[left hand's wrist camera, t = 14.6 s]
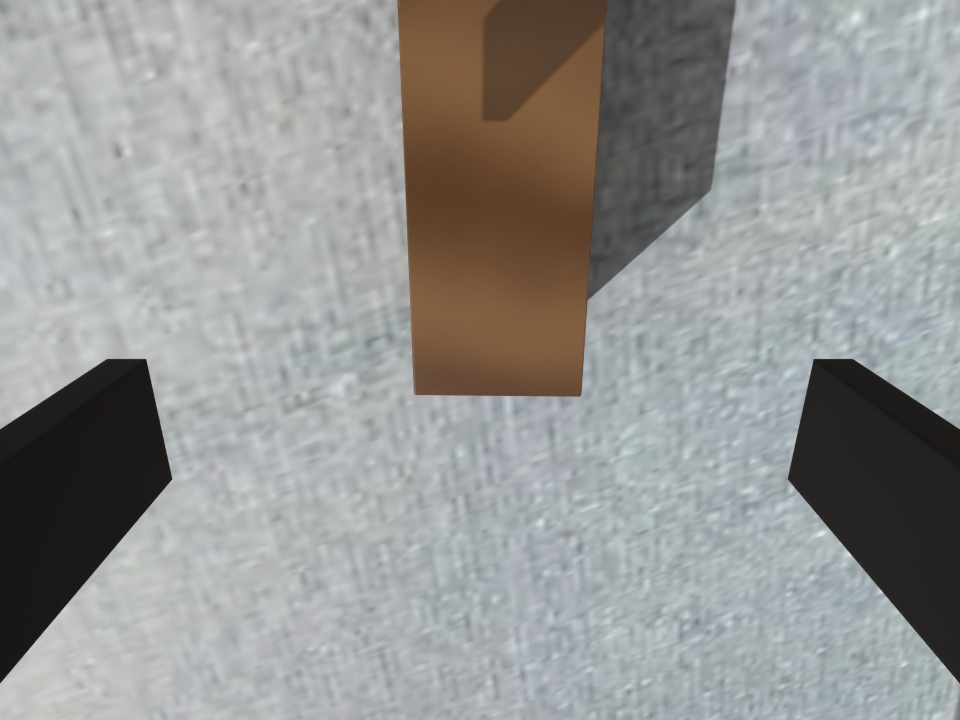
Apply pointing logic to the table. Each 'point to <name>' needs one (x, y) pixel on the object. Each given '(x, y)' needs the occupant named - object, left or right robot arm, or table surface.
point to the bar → (500, 190)
